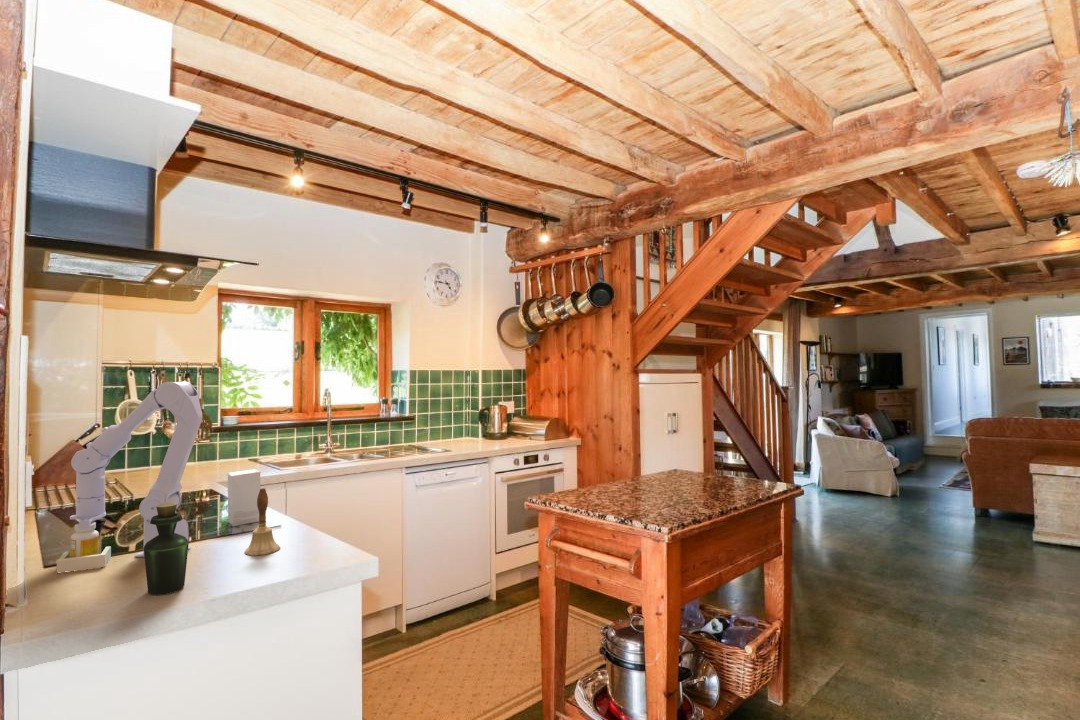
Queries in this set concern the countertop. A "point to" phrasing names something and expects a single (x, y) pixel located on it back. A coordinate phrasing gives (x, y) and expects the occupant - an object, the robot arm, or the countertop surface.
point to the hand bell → (262, 530)
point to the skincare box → (243, 497)
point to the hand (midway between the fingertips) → (90, 551)
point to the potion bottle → (166, 553)
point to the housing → (83, 561)
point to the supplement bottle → (84, 541)
